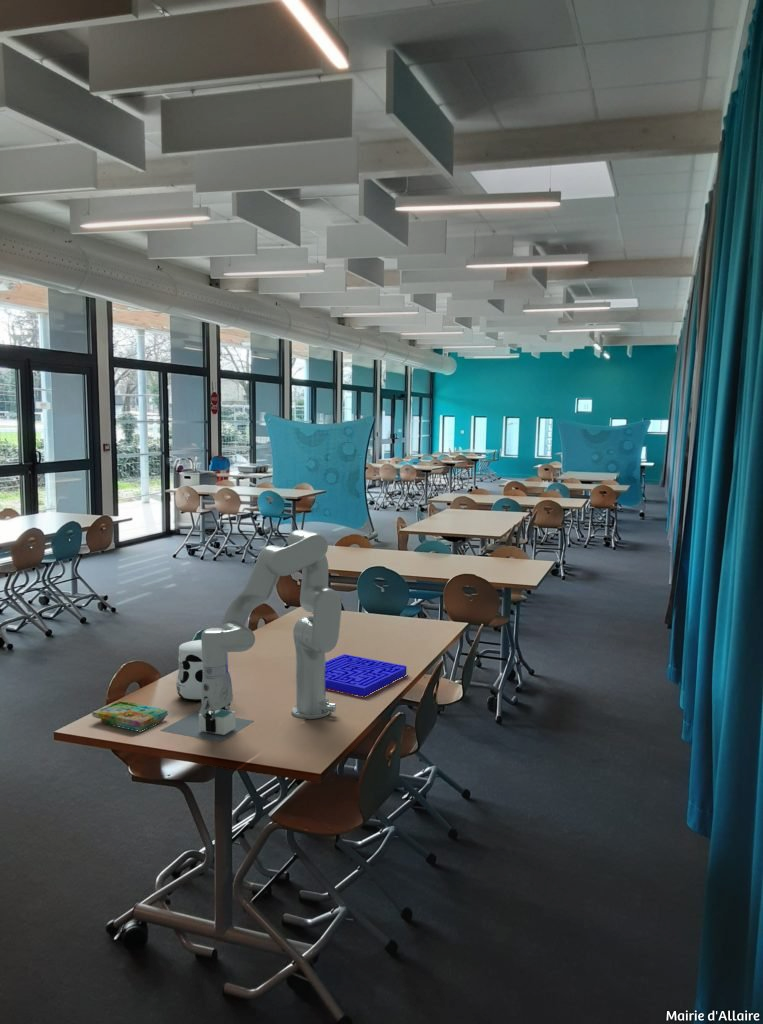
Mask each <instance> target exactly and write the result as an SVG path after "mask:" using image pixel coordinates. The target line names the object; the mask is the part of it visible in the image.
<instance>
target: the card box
mask: <svg viewBox="0 0 763 1024" xmlns="http://www.w3.org/2000/svg"><path fill="white" fill-rule="evenodd" d="M209 709H210V707H209ZM209 714H210V715H211V711H209ZM235 718H236V711H234V710H229V711H228V710H222V709H219V710H217V711H215V715H214V719H215V724H216V732H215V733H216V734H222V735H225V734H226V733H228V732H230V731H231V730H233V729H234V728H236V720H235ZM199 731H205V732H207V731H206V722H205V719H204V717H203V716H202V715H201V714H199ZM210 733H212V732H210Z"/></svg>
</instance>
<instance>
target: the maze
mask: <svg viewBox="0 0 763 1024" xmlns="http://www.w3.org/2000/svg"><path fill="white" fill-rule="evenodd" d="M325 671H326V690H327V689H330V690H329V691H331V690H334V691H333V692H335V691H339V692H338V693H340V692H343V693H342V694H344V693H349V694H353V695H358V696H363V697H365V696H367V695H369V694H370V693H372V692H374V691H376V690H378V689H380V688H382V687H384V686H386V685H388V684H390V683H392V682H393V681H395V680H397V679H399V678H401V677H404V676H405V675H406V674H407V665H404V664H398V663H392V662H388V661H381V660H376V659H371V658H366V657H361V656H355V655H350V654H347V653H346V654H345V653H344V654H341V655H339V656H336V657H334V658H331V659H329V660H326V666H325ZM349 694H348V695H349ZM353 695H352V696H353ZM369 696H370V695H369ZM367 697H368V696H367ZM365 698H366V697H365Z"/></svg>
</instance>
